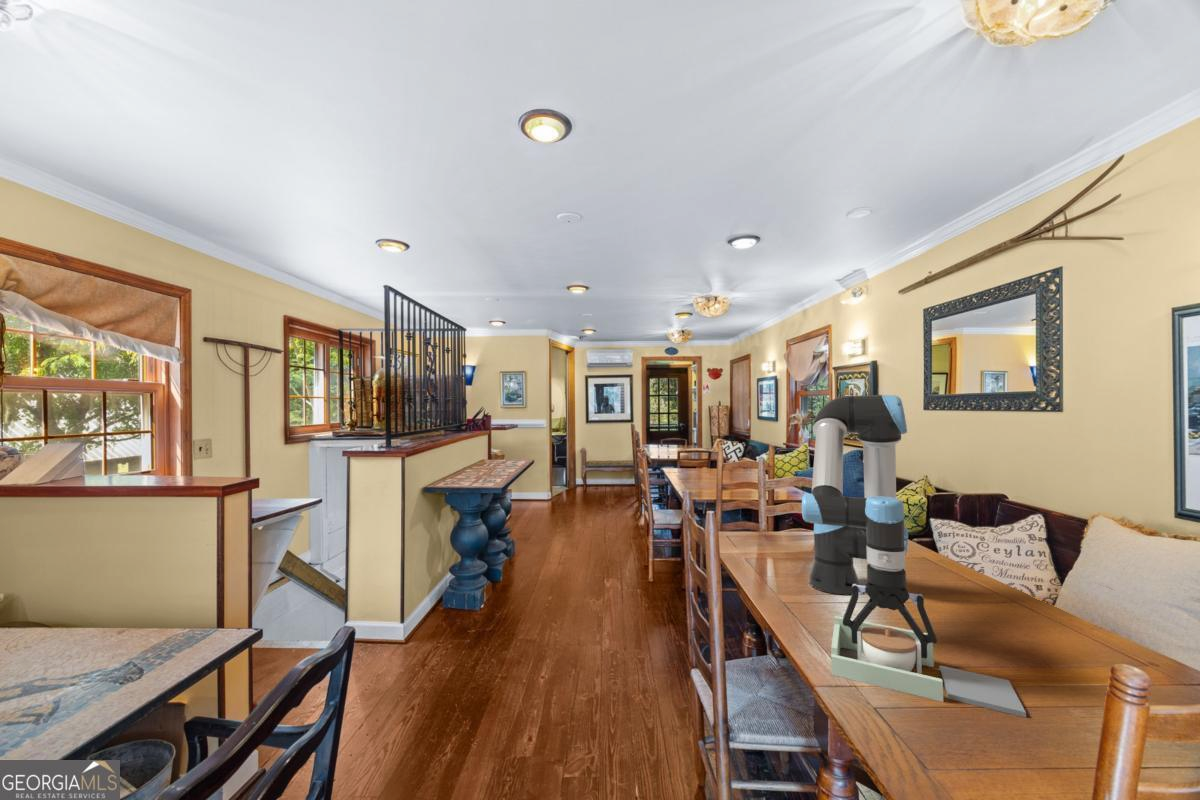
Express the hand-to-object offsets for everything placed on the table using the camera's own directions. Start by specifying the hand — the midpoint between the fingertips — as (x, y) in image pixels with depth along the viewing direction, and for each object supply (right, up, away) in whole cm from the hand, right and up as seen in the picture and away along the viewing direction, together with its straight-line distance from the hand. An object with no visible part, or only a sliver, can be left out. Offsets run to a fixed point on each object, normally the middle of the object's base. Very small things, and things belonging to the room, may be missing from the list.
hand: (888, 664), depth 104 cm
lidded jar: (0, -2, 0) cm, 2 cm away
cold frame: (-1, -1, 0) cm, 2 cm away
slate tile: (+14, -1, -8) cm, 16 cm away
